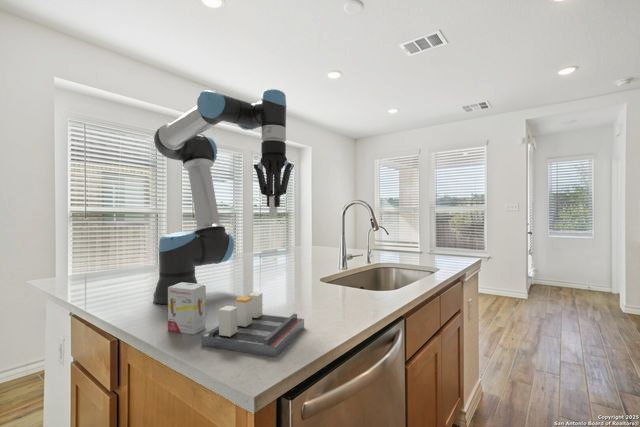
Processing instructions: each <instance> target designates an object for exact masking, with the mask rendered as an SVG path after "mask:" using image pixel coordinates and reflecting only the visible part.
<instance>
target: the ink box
mask: <svg viewBox="0 0 640 427" xmlns="http://www.w3.org/2000/svg"><path fill="white" fill-rule="evenodd" d="M206 290H207V287H206V285H205V284H202V283H201V284H200V283H198V284H194V283H184V282H181V283H178V284H175V285H173V286H170V287H168V304H167V331H168V332H172V333H173V332H174V333H180V334H181V333H182V334H187V335H196V334H197V333H199V332H201V331H203V330H205V329H206V327H207V326H206V323H207V322H206V321H207V320H206V319H207V318H206V314H207V313H206V311H207V310H206V306H207V305H206V303H207V301H206V300H207V296H206V294H207V291H206Z"/></svg>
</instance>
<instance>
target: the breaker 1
mask: <svg viewBox="0 0 640 427" xmlns="http://www.w3.org/2000/svg"><path fill="white" fill-rule="evenodd" d="M218 326H219V335H222V336H229V337H230V336H232V335H233V334H235V333H236V332H237V307H236V306H234V305H233V306H232V305H225V306H223V307H221V308H218Z"/></svg>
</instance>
